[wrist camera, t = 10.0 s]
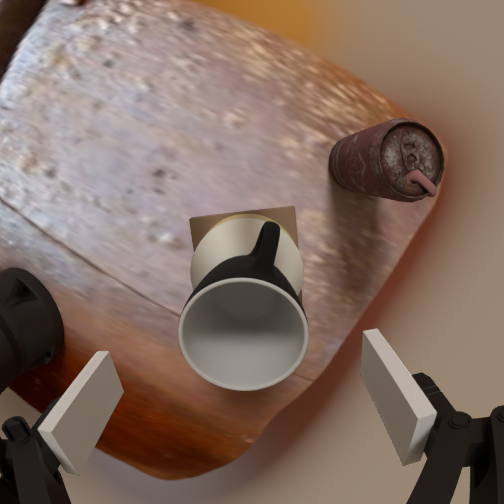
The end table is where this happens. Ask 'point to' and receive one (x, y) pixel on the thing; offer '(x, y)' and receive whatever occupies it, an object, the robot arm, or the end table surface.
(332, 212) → the end table surface
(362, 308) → the end table surface
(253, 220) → the stand
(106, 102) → the end table surface
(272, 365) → the mug
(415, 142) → the can
